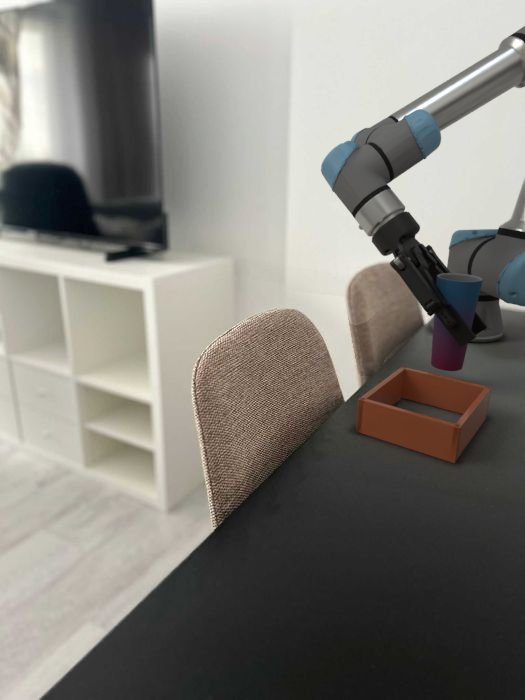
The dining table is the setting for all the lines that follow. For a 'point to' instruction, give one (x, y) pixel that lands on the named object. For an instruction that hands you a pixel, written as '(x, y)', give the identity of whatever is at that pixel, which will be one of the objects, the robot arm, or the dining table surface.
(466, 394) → the rectangular frame
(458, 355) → the cup
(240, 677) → the dining table surface
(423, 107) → the robot arm
